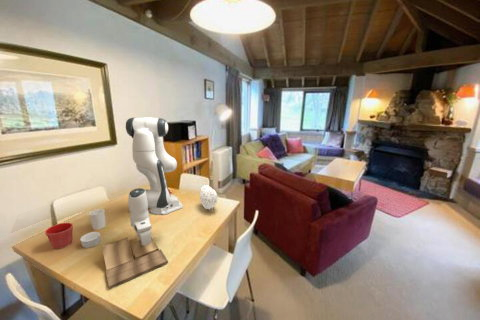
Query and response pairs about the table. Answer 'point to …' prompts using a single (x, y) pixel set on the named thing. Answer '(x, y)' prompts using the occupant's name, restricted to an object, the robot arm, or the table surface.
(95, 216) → the white cup
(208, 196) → the white lumpy rounded piece
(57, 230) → the flower pot
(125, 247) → the plank
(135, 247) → the plank
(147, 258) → the floor strip
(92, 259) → the table surface
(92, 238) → the ramekin
